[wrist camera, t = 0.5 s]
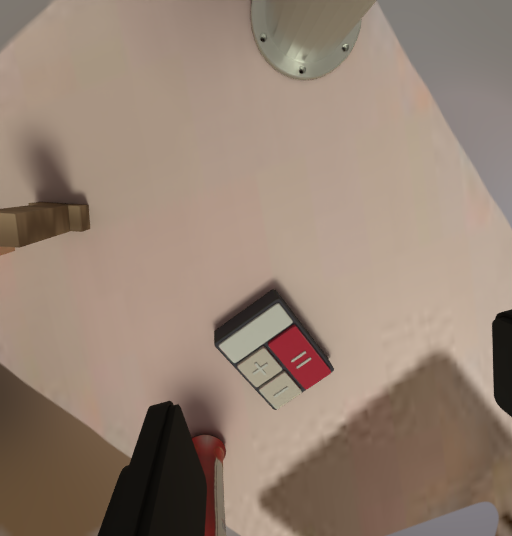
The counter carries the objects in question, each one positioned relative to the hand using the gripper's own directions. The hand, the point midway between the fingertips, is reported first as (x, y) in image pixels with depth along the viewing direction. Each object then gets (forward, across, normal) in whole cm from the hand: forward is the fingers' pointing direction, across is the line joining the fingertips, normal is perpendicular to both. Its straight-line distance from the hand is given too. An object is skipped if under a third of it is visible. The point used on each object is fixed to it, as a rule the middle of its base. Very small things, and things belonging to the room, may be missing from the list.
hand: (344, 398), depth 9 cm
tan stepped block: (+34, +22, -8) cm, 41 cm away
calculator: (+35, +1, +18) cm, 39 cm away
